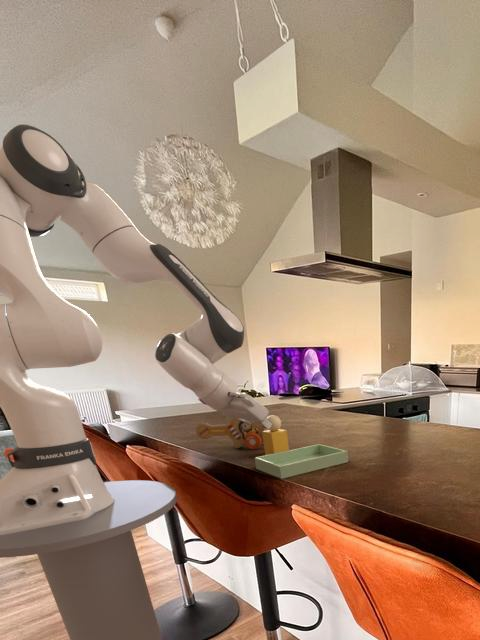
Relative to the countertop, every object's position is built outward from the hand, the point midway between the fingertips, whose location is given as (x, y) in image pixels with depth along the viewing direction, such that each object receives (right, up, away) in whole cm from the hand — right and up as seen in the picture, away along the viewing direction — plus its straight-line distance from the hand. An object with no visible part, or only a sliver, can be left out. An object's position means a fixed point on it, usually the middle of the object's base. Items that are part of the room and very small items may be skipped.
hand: (259, 424), depth 116 cm
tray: (+13, -12, -7) cm, 19 cm away
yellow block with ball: (+3, -8, +5) cm, 10 cm away
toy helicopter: (-12, -4, +17) cm, 21 cm away
